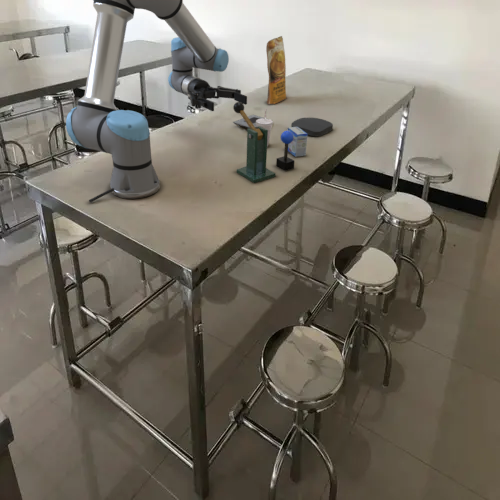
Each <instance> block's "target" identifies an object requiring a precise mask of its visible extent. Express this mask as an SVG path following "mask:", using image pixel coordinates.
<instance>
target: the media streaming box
mask: <svg viewBox="0 0 500 500" xmlns="http://www.w3.org/2000/svg"><path fill="white" fill-rule="evenodd" d="M290 127H299V128H300V129H302V130H303V131H304V132H306V133H307V134H308V136H310V137H321V136H324V135H326V134H328V133H330V132H331V131H333V128H334V124H333V123H332V122H331V121H328V120H326V119H324V118H319V117H300V118H297V119H295V120H294V121H292V123H291V126H290Z"/></svg>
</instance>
